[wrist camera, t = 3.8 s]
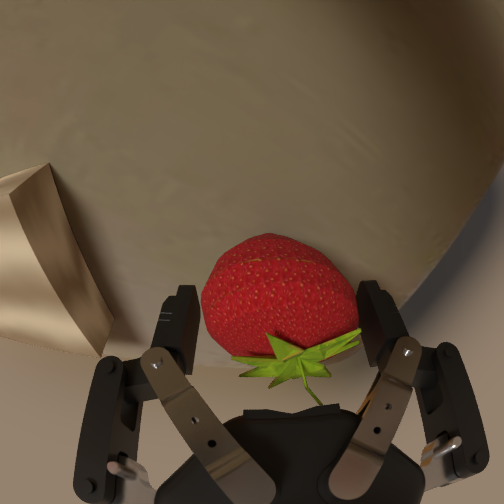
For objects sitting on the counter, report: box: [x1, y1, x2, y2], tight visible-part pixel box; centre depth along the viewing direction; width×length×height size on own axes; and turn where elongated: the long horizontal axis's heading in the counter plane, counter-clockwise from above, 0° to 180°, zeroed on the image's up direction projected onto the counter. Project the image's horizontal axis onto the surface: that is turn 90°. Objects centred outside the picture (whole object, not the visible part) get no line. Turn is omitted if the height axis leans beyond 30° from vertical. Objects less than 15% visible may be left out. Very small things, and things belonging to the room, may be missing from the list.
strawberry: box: [201, 233, 362, 405], centre depth 13 cm, size 6×8×10 cm
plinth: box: [0, 163, 114, 358], centre depth 16 cm, size 14×14×4 cm
